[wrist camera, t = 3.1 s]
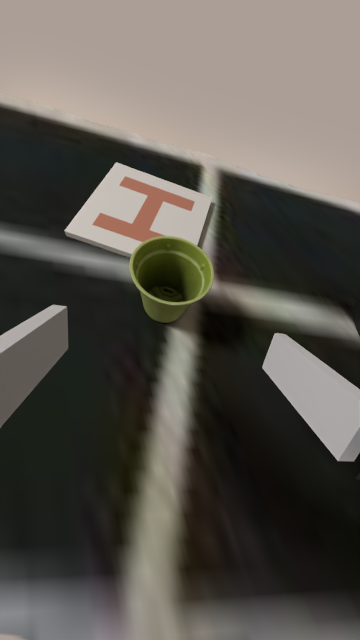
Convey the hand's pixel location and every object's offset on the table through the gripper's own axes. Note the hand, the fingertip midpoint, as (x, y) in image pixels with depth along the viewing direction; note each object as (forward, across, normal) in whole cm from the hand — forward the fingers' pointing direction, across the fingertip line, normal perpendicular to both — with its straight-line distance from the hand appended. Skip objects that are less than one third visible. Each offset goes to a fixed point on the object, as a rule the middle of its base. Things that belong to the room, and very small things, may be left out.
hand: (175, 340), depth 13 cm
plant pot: (+18, 0, +3) cm, 18 cm away
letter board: (+30, +4, -9) cm, 31 cm away
